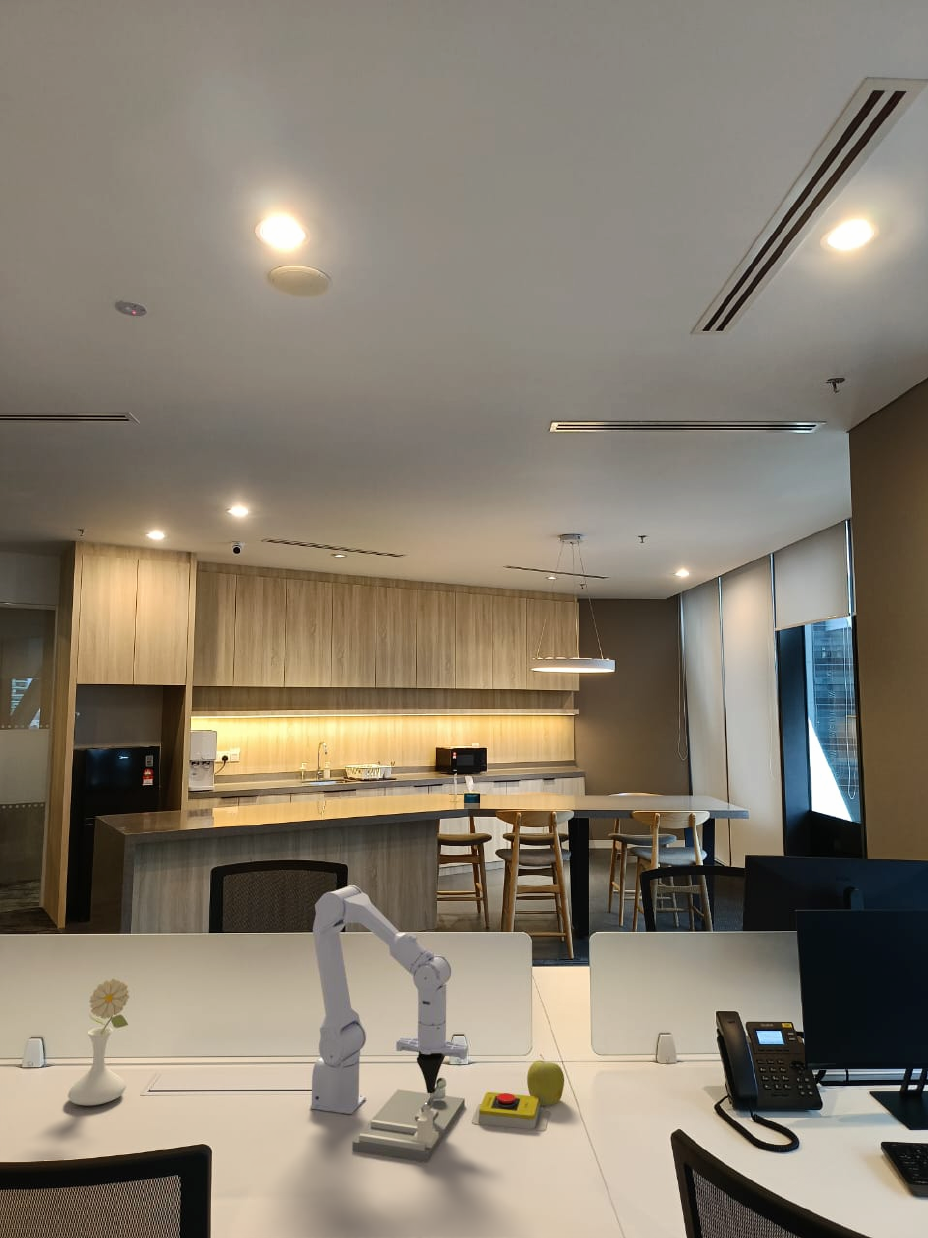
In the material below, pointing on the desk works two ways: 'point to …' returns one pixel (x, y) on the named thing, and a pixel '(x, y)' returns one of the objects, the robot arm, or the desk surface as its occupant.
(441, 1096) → the push button
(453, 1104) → the grey base plate
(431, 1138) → the paddle slider
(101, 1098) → the flower in vase
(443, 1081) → the toggle lever
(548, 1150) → the desk surface
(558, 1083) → the apple
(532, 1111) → the emergency button
